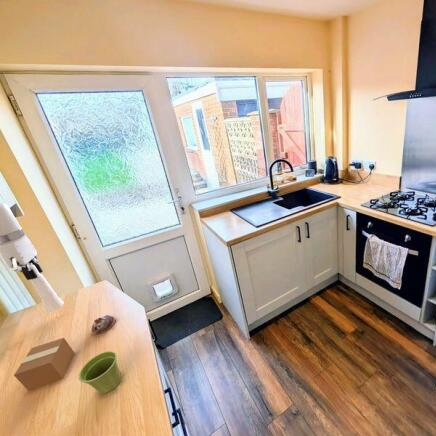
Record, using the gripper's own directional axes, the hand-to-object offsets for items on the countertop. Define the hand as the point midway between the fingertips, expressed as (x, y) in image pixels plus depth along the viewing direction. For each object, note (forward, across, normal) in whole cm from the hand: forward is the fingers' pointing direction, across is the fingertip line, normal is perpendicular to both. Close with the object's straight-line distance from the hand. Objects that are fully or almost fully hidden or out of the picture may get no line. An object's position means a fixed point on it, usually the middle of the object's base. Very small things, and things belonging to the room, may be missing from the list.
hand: (35, 275), depth 99 cm
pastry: (+20, +19, +22) cm, 36 cm away
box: (+21, +34, +11) cm, 41 cm away
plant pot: (+21, +48, +31) cm, 60 cm away
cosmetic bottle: (+17, 0, 0) cm, 17 cm away
